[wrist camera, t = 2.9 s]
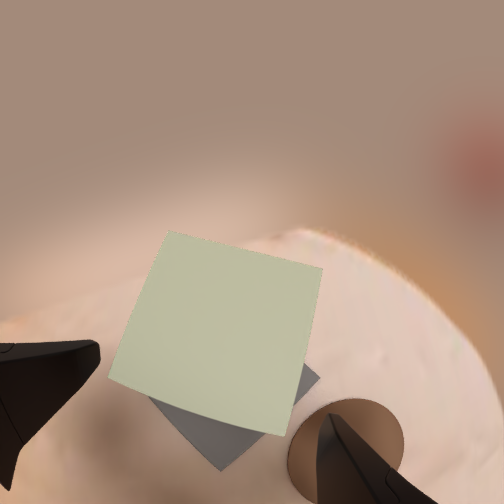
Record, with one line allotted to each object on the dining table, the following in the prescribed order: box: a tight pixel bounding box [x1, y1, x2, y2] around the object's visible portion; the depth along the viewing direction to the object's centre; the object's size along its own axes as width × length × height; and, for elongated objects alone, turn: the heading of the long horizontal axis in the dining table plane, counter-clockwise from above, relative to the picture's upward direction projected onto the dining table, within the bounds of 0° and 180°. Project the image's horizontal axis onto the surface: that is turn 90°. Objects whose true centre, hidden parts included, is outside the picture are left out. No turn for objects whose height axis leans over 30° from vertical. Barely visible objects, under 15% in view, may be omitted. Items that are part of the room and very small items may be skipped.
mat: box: [148, 363, 320, 472], centre depth 20 cm, size 10×10×1 cm
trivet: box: [288, 399, 404, 504], centre depth 17 cm, size 9×9×1 cm
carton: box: [107, 231, 323, 437], centre depth 15 cm, size 6×6×12 cm
